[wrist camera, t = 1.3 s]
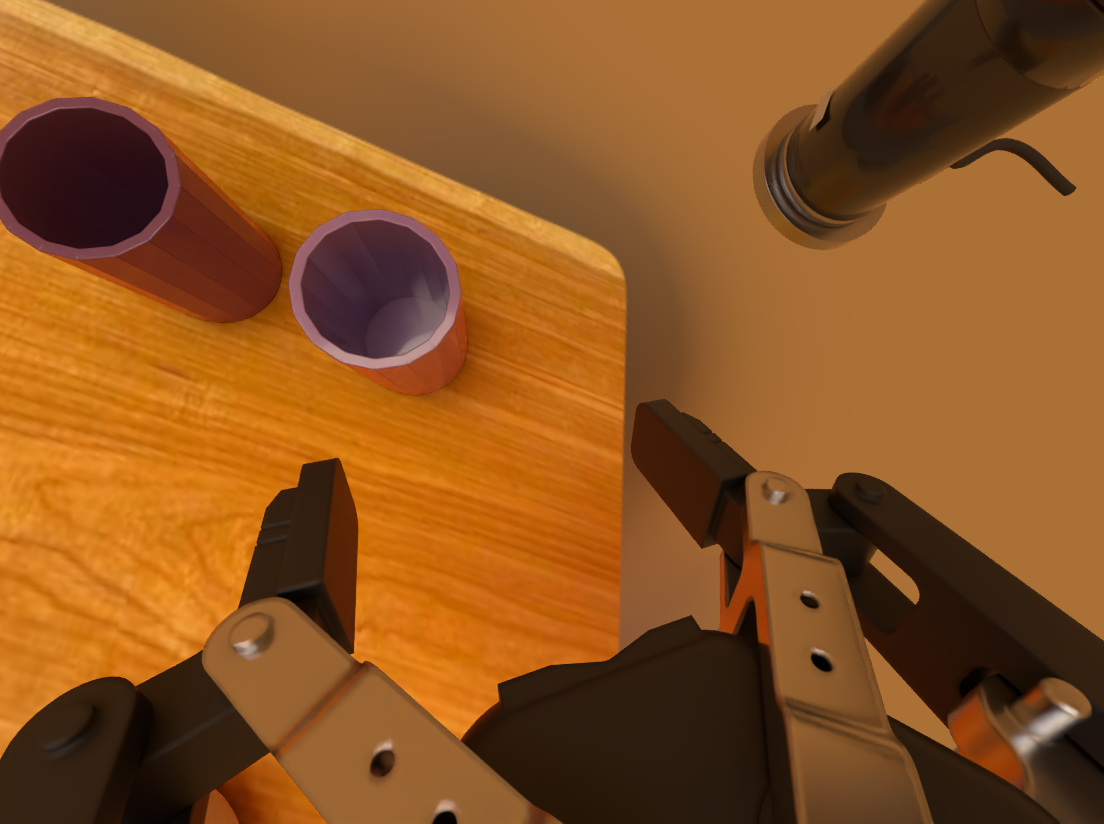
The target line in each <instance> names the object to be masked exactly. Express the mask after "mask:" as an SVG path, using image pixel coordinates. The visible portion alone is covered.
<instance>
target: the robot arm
mask: <svg viewBox="0 0 1104 824" xmlns="http://www.w3.org/2000/svg"><path fill="white" fill-rule="evenodd" d="M1103 75H1104V0H924V1H923V2H922V3H921V4H920V5H919V6H918V7H917V8H916V9H915V10H914V11H913V12H912V13H911V14H910V15H909V16H908V17H907V18H906V19H905V20H904V21H903V22H902V23H901V24H900V25H899V26H898V27H897V28H896V29H895V30H894V31H893V32H892V33H891V34H890V35H889V36H888V37H887V38H886V39H885V40H884V41H883V42H882V43H880V45H878V47H876V48H875V50H873V51H872V52H871V53H870V54H869V55H868V56H867V57H866V58H865V59H864V60H863V61H862V62H861V63H860V64H859V65H858V66H857V67H856V68H855V69H854V70H853V71H852V72H851V73H850V74H849V75H848V76H847V77H846V78H845V79H844V80H843V81H842V82H841V83H840V84H839V85H838V86H837V87H836V88H835V89H834V90H833V88H834V85H833V86H832V87H831V88H830V89H829V90H828V91H827V92H826V93H825V94H824V95H823V96H822V97H821V99H820V102H819V104H818V106H817V107H816V108H815V109H814V110H813V111H812V112H811V113H810V114H809V115H808V116H807V117H805V118H804V119H802V120H801V121H800V122H799V123H798V124H797V125H796V126H795V127H794V128H793V129H792V130H791V131H790V132H789V133H788V135H787V136H786V137H785V139H784V141H783V143H782V146H781V149H780V152H779V159H778V170H779V177H780V181H781V184H782V187H783V189H784V192H785V194H786V195H787V197H788V199H789V200H790V202H791V203H792V204H793V206H794V207H795V208H796V209H797V210H798V211H799V212H800V213H801V214H802V215H804V216H805V217H806V218H808V219H810V220H811V221H813V222H815V223H818V224H820V225H824V226H828V227H843V226H847V225H850V224H853V223H855V222H856V221H858V220H860V219H862V218H863V217H865V216H867V215H868V214H869V213H871V212H872V211H873V210H875V209H876V208H878V207H880V206H881V205H883V204H885V203H887V202H888V201H890V200H892V199H893V198H895V197H897V196H899V195H900V194H902V193H904V192H906V191H907V190H909V189H911V188H912V187H914V186H916V185H918V184H920V183H922V182H924V181H925V180H927V179H929V178H931V177H932V176H934V175H936V174H937V173H939V172H941V171H943V170H944V169H946V168H948V167H951V168H953V169H957V168H962V167H965V166H967V165H969V164H970V163H972V162H974V161H975V160H977V159H979V158H980V157H982V156H983V155H985V154H987V153H989V152H992V151H995V150H1004V151H1008V152H1011V153H1014V154H1016V155H1018V156H1020V157H1021V158H1023V159H1024V160H1025V161H1027V162H1028V163H1029V164H1031V165H1032V166H1033V167H1034V168H1035V169H1036V170H1037V171H1038V172H1039V173H1040V174H1041V175H1042V176H1043V177H1044V178H1045V179H1046V180H1047V181H1048V182H1049V183H1050V184H1051V185H1052V186H1053V187H1054V188H1055V189H1056V190H1057V191H1058V192H1060V193H1061V194H1062V195H1064V196H1066V195H1069V194H1071V193H1072V192H1074V191H1075V189H1076V187H1075V186H1074V185H1073V184H1072V183H1070V182H1069V181H1068V180H1067V179H1066V178H1065V177H1064V176H1063V175H1062V174H1061V173H1060V172H1059V171H1058V170H1057V169H1056V168H1055V167H1054V166H1053V165H1052V164H1051V163H1050V162H1049V161H1048V160H1047V159H1046V158H1045V157H1044V156H1042V155H1041V154H1040V153H1039V152H1038V151H1036V150H1035V149H1034V148H1032V147H1031V146H1029V145H1027V144H1025V143H1023V142H1021V141H1018V140H1014V139H1008V138H1003V139H997V140H994V139H996V138H998V137H999V136H1001V135H1003V134H1004V133H1006V132H1008V131H1010V130H1011V129H1013V128H1015V127H1016V126H1018V125H1020V124H1021V123H1023V122H1025V121H1027V120H1028V119H1030V118H1032V117H1033V116H1035V115H1037V114H1039V113H1040V112H1042V111H1044V110H1045V109H1047V108H1049V107H1050V106H1052V105H1054V104H1056V103H1057V102H1059V101H1061V100H1062V99H1064V98H1066V97H1068V96H1069V95H1071V94H1072V93H1074V92H1076V91H1078V90H1079V89H1081V88H1083V87H1084V86H1086V85H1088V84H1090V83H1091V82H1092V81H1094V80H1096V79H1098V78H1099V77H1101V76H1103ZM631 453H632V458H633V461H634V463H635V465H636V466H637V468H638V469H639V470H640V472H641V473H642V474H643V475H644V477H645V478H646V479H647V480H648V482H649V483H650V484H651V485H652V487H653V488H654V489H655V490H656V492H657V493H658V494H659V496H660V497H661V498H662V499H663V501H664V502H665V503H666V504H667V506H668V507H669V508H670V509H671V511H672V512H673V513H674V514H675V516H676V517H677V518H678V519H679V521H680V522H681V523H682V525H683V526H684V527H685V528H686V530H687V531H688V532H689V533H690V535H691V536H692V537H693V539H694V540H695V541H696V542H697V544H698V545H699V546H700V547H701V549H702V548H705V547H708V546H711V545H715V544H719V545H720V546H721V547H722V552H721V555H720V624H719V630H718V631H715V630H701V629H700V627H699V626H698V624H697V623H696V621H695V620H694V618H693V617H692V615H690V616H688V617H685V618H682V619H680V620H677V621H674V622H671V623H668V624H665V625H662V626H660V627H657V628H654V629H651V630H649V631H647V632H646V633H644V634H643V635H642V636H640V637H639V638H638V639H636V640H635V641H634V642H632V643H631V644H630V645H629V646H627V647H626V648H624V649H623V650H622V651H620V652H619V653H618V654H616V655H615V656H614V657H612V658H611V659H609V660H607V661H602V662H589V663H575V664H561V665H550V666H547V667H544V668H541V669H538V670H536V671H533V672H530V673H527V674H524V675H522V676H519V677H516V678H513V679H510V680H508V681H505V682H502V683H499V684H498V693H499V702H498V703H496V704H495V705H494V706H492V707H491V708H489V709H488V710H487V711H486V712H485V713H484V714H483V715H482V716H481V717H480V718H478V719H477V720H476V722H475V723H474V724H473V725H472V726H471V727H470V729H469V730H468V731H467V732H466V733H465V735H464V736H463V737H462V739H461V740H459V739H458V738H457V737H456V736H454V735H453V734H452V733H451V732H450V731H449V730H448V729H447V728H446V727H444V726H443V725H442V724H441V723H440V722H439V721H438V720H437V719H435V718H434V717H433V716H432V715H431V714H430V713H429V712H428V711H426V710H425V709H424V708H423V707H422V706H421V705H420V704H419V703H417V702H416V701H415V700H414V699H413V698H412V697H411V696H410V695H408V694H407V693H406V692H405V691H404V690H403V689H402V688H401V687H399V686H398V685H397V684H396V683H395V682H394V681H393V680H392V679H390V678H389V677H388V676H387V675H386V674H385V673H384V672H383V671H381V670H380V669H379V668H378V667H377V666H375V665H374V664H372V663H371V662H368V661H365V662H364V663H363V664H361V663H359V662H358V661H357V660H355V659H354V658H353V657H352V656H351V655H350V654H353V653H354V636H355V607H356V578H357V549H358V519H357V513H356V508H355V504H354V501H353V498H352V495H351V492H350V488H349V485H348V482H347V479H346V476H345V473H344V470H343V467H342V464H341V461H340V460H339V458H335V459H329V460H324V461H318V462H313V463H307V464H303V466H302V469H301V474H300V479H299V483H298V487H296V488H291V489H286V490H281V491H280V492H279V493H278V495H277V496H276V497H275V498H274V500H273V501H272V502H271V503H270V504H269V506H268V507H267V508H266V511H265V514H264V518H263V521H262V525H261V531H260V532H259V536H258V539H257V546H255V550H254V553H253V557H252V561H251V564H250V568H249V571H248V575H247V578H246V582H245V585H244V589H243V593H242V596H241V600H240V603H239V606H238V609H237V610H236V611H234V612H233V613H231V614H230V615H229V616H228V617H226V618H225V619H224V620H223V621H222V622H221V623H220V624H219V625H218V626H217V627H216V628H215V629H214V631H213V632H212V633H211V635H210V636H209V638H208V639H207V642H206V644H205V646H204V649H203V650H201V651H200V652H198V653H197V654H196V655H194V656H192V657H190V658H189V659H187V660H185V661H183V662H181V663H179V664H177V665H176V666H174V667H172V668H170V669H168V670H166V671H164V672H162V673H160V674H158V675H156V676H155V677H153V678H151V679H149V680H147V681H145V682H143V683H141V684H139V685H137V686H134V685H133V684H132V683H131V682H130V681H128V680H127V679H125V678H121V677H104V678H100V679H96V680H92V681H89V682H87V683H84V684H82V685H80V686H78V687H75V688H73V689H71V690H70V691H68V692H66V693H64V694H63V695H61V696H59V697H58V698H56V699H55V700H54V701H52V702H51V703H49V704H48V705H47V706H45V707H44V708H43V709H42V710H40V711H39V712H38V713H37V714H36V715H35V716H33V717H32V718H31V719H30V720H29V721H28V722H27V723H26V724H25V725H24V726H23V727H22V729H21V730H20V731H19V732H18V733H17V734H16V736H15V737H14V738H13V740H12V741H11V742H10V744H9V745H8V747H7V749H6V750H5V752H4V754H3V756H2V757H1V759H0V824H204V823H205V818H206V812H207V807H208V802H209V797H210V792H212V791H213V790H214V789H216V788H217V787H219V786H220V785H222V784H223V783H225V782H226V781H228V780H229V779H231V778H232V777H234V776H235V775H237V774H238V773H240V772H241V771H243V770H244V769H246V768H247V767H249V766H250V765H252V764H253V763H255V762H256V761H258V760H259V759H260V758H262V757H263V756H265V755H266V754H268V753H269V752H271V753H272V754H273V756H274V757H275V758H276V760H277V761H278V762H279V763H280V765H281V766H282V767H283V768H284V770H285V771H286V772H287V773H288V775H289V776H290V777H291V778H292V780H293V781H294V782H295V783H296V785H297V786H298V787H299V788H300V790H301V791H302V792H303V793H304V795H305V796H306V797H307V798H308V799H309V801H310V802H311V803H312V804H313V806H314V807H315V808H316V809H317V811H318V812H319V813H320V814H321V816H322V817H323V818H324V819H325V821H326V822H327V823H328V824H1104V641H1103V640H1102V639H1100V638H1099V637H1097V636H1096V635H1095V634H1093V633H1092V632H1091V631H1089V630H1088V629H1087V628H1085V627H1084V626H1082V625H1081V624H1080V623H1078V622H1077V621H1076V620H1074V619H1073V618H1071V617H1070V616H1069V615H1067V614H1066V613H1065V612H1063V611H1062V610H1061V609H1059V608H1058V607H1056V606H1055V605H1054V604H1052V603H1051V602H1049V601H1048V600H1047V599H1045V598H1044V597H1043V596H1041V595H1040V594H1038V593H1037V592H1036V591H1034V590H1033V589H1032V588H1030V587H1029V586H1027V585H1026V584H1025V583H1023V582H1022V581H1021V580H1019V579H1018V578H1017V577H1015V576H1014V575H1012V574H1011V573H1010V572H1008V571H1007V570H1006V569H1004V568H1003V567H1001V566H1000V565H999V564H997V563H995V562H994V561H993V560H992V559H990V558H989V557H988V556H986V555H985V554H984V553H982V552H981V551H979V550H978V549H977V548H975V547H974V546H973V545H971V544H970V543H969V542H967V541H966V540H964V539H963V538H962V537H960V536H959V535H958V534H956V533H955V532H953V531H952V530H950V529H949V528H948V527H947V526H945V525H944V524H942V523H941V522H939V521H938V520H937V519H935V518H934V517H933V516H931V515H930V514H929V513H927V512H926V511H925V510H923V509H922V508H920V507H919V506H918V505H916V504H915V503H914V502H912V501H911V500H909V499H908V498H907V497H905V496H904V495H903V494H901V493H900V492H898V491H897V490H896V489H894V488H893V487H892V486H890V485H889V484H887V483H885V482H883V481H882V480H880V479H877V478H875V477H872V476H869V475H865V474H861V473H844V474H841V475H839V476H838V477H837V479H836V481H835V483H834V485H833V487H832V489H804V488H803V487H802V486H801V485H800V484H799V483H797V482H796V481H795V480H793V479H791V478H789V477H787V476H785V475H782V474H780V473H776V472H771V471H757V470H756V469H754V468H753V467H752V466H751V465H750V464H749V463H748V462H747V461H745V460H744V459H743V458H742V457H741V456H740V455H739V454H737V453H736V452H735V451H734V450H733V449H732V448H731V447H729V446H728V445H727V444H726V443H725V442H722V440H721V439H720V438H719V437H718V436H717V435H716V434H715V433H712V431H711V430H710V429H709V428H708V427H707V426H706V425H704V424H703V423H702V422H701V421H700V420H698V419H696V418H694V417H692V416H690V415H687V414H686V413H684V412H683V413H681V412H679V411H678V410H677V409H676V408H675V407H674V406H673V405H671V403H670V402H668V401H667V400H665V399H661V400H656V401H650V402H645V403H640V404H639V405H638V406H637V409H636V414H635V421H634V428H633V435H632V443H631ZM877 549H879V550H880V551H881V552H882V553H884V554H885V555H886V556H887V557H888V558H889V559H890V560H892V561H893V562H894V563H895V564H896V565H897V566H898V567H900V568H901V569H902V570H903V571H904V572H905V573H906V574H908V575H909V576H910V577H911V578H912V580H913V581H914V582H915V583H916V585H917V587H918V590H919V593H920V598H919V601H918V602H917V604H916V605H915V604H914V603H913V602H912V601H910V600H909V598H907V597H906V596H905V595H904V594H903V593H902V592H901V591H900V590H899V589H898V588H897V587H895V586H894V585H893V584H892V583H891V582H890V581H889V580H888V579H887V578H886V577H885V576H884V575H883V574H882V573H880V572H879V571H878V570H877V569H876V568H875V567H874V566H873V565H872V564H871V563H870V562H869V561H870V560H871V558H872V557H873V555H874V553H875V552H876V550H877ZM864 637H865V638H866V639H867V640H868V641H869V642H870V643H871V644H872V645H873V647H875V649H876V650H877V651H878V652H879V653H880V654H881V655H882V656H883V657H884V659H885V660H886V661H887V662H888V663H889V664H890V665H891V666H892V667H893V669H894V670H895V671H896V672H897V673H898V674H899V675H900V676H901V677H902V678H903V680H904V681H905V682H906V683H907V684H908V685H909V686H910V687H911V688H912V689H913V691H914V692H915V693H916V694H917V695H918V696H919V697H920V698H921V699H922V700H923V702H924V703H925V704H926V705H927V706H928V707H929V708H930V709H931V710H932V711H933V713H934V714H935V715H936V716H937V717H938V718H939V719H940V720H941V721H942V722H943V724H944V725H945V726H946V727H947V728H948V729H949V731H950V734H951V736H952V738H953V740H954V742H955V743H956V745H957V747H956V748H955V749H954V750H951V749H949V748H947V747H945V746H944V745H942V744H940V743H938V742H936V741H934V740H932V739H931V738H929V737H927V736H925V735H923V734H922V733H920V732H918V731H916V730H914V729H913V728H911V727H909V726H907V725H905V724H903V723H901V722H900V721H898V720H896V719H894V718H892V717H890V716H889V715H887V714H886V711H885V708H884V704H883V701H882V697H881V694H880V691H879V687H878V684H877V681H876V677H875V674H874V670H873V667H872V663H871V660H870V657H869V653H868V650H867V646H866V643H865V640H864Z"/></svg>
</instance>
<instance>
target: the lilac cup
mask: <svg viewBox="0 0 1104 824" xmlns="http://www.w3.org/2000/svg"><path fill="white" fill-rule="evenodd" d="M288 282H289V283H288V285H289V291H290V297H291V303H292V309H293V314H294V317H295V318H296V320H297V321H298V323H299V324H300V326H301V327H302V329H303V330H304V332H305V333H306V335H307V336H308V338H309V340H310V341H311V342H312V343H313V344H314V345H315V346H317V347H318V348H320V349H321V350H323V351H324V352H326V353H327V354H329V355H330V356H331V357H333V358H334V359H336V360H337V361H339V362H341V363H342V364H344V365H346V366H348V367H349V368H351V369H353V370H355V371H357V372H358V373H360V374H362V375H364V376H365V377H367V378H369V379H371V380H373V381H374V382H376V383H378V384H380V385H381V386H383V387H385V388H387V389H389V390H391V391H395V392H398V393H401V394H407V395H422V394H427V393H431V392H434V391H437V390H439V389H441V388H442V387H444V386H445V385H447V384H448V383H449V382H451V381H452V380H453V379H454V378H455V376H456V375H457V374H458V373H459V371H460V369H461V368H462V365H463V363H464V361H465V357H466V352H467V346H468V341H467V333H466V325H465V317H464V309H463V301H462V293H461V287H460V282H459V276H458V271H457V265H456V263H455V261H454V259H453V258H452V256H451V255H450V253H449V252H448V250H447V249H446V247H445V245H444V244H443V242H442V241H441V239H440V238H439V237H438V236H437V235H436V234H434V233H433V232H431V231H430V230H429V229H427V228H426V227H425V226H423V225H422V224H420V223H419V222H418V221H416V220H415V219H413V218H411V217H408V216H404V215H401V214H397V213H394V212H390V211H386V210H383V209H381V210H380V209H374V210H363V211H351V212H348V213H347V212H346V213H344V214H342V215H340V216H338V217H336V218H334V219H332V220H330V221H328V222H326V223H324V224H322V225H320V226H318V227H317V228H316V229H315V230H314V232H313V233H312V234H311V235H310V236H309V237H308V239H307V240H306V241H305V242H304V243H303V245H302V246H301V247H300V248H299V249H298V251H297V253H296V256H295V259H294V263H293V267H292V270H291V274H290V277H289V281H288Z"/></svg>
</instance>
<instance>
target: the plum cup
mask: <svg viewBox="0 0 1104 824" xmlns="http://www.w3.org/2000/svg"><path fill="white" fill-rule="evenodd" d="M0 220H1V221H2V223H3V224H4V225H5V227H6V228H7V230H9V232H11V233H12V234H14V235H15V236H17V237H18V238H20V239H22V240H23V241H25V242H26V243H28V244H29V245H31V246H32V247H34V248H35V249H37V250H38V251H40V252H43V253H45V254H47V255H50V256H52V257H54V258H57V259H59V260H61V261H64V262H66V263H68V264H70V265H73V266H75V267H77V268H80V269H82V270H84V271H87V272H89V273H91V274H94V275H96V276H98V277H101V278H103V279H105V280H108V281H110V282H112V283H115V284H117V285H119V286H122V287H124V288H126V289H129V290H131V291H133V292H135V293H138V294H140V295H142V296H145V297H147V298H149V299H152V300H154V301H156V302H159V303H161V304H163V305H166V306H168V307H170V308H173V309H175V310H177V311H180V312H182V313H184V314H187V315H189V316H193V317H196V318H198V319H202V320H205V321H210V322H219V323H226V322H234V321H239V320H242V319H246V318H248V317H250V316H252V315H254V314H256V313H258V312H259V311H261V310H262V309H263V308H264V307H266V305H267V304H268V303H269V302H270V301H271V300H272V298H273V297H274V296H275V294H276V292H277V290H278V287H279V285H280V281H281V273H282V267H281V260H280V256H279V254H278V251H277V249H276V247H275V245H274V244H273V242H272V241H271V239H270V238H269V237H268V236H267V235H266V234H265V232H264V231H263V230H262V229H261V228H260V227H259V226H258V225H257V224H256V223H255V222H254V221H253V220H252V219H251V218H250V217H249V216H248V215H247V214H246V213H245V212H244V211H243V210H242V209H241V208H240V207H239V206H238V205H237V204H236V203H235V202H234V201H233V200H231V199H230V198H229V197H228V196H227V195H226V194H225V193H224V192H223V191H222V190H221V189H220V188H219V187H218V186H217V185H216V184H215V183H214V182H213V181H212V180H211V179H210V178H209V177H208V176H207V175H206V174H205V173H204V172H203V171H202V170H201V169H200V168H199V167H198V166H197V165H195V164H194V163H193V162H192V161H191V160H190V159H189V158H188V157H187V156H186V155H185V154H184V153H183V152H182V151H181V150H180V149H179V148H178V147H177V146H176V145H175V144H174V143H173V142H172V141H171V140H170V139H169V138H168V137H167V136H166V135H165V134H164V133H163V132H162V131H161V130H159V129H158V128H157V127H156V126H155V125H153V124H152V123H150V122H149V121H147V120H146V119H145V118H143V117H142V116H140V115H139V114H137V113H136V112H135V111H133V110H132V109H130V108H128V107H125V106H122V105H118V104H115V103H111V102H108V101H104V100H101V99H97V98H94V97H93V98H92V97H79V98H55V99H51V100H49V101H46V102H44V103H41V104H39V105H36V106H34V107H31V108H29V109H26V110H24V111H21V112H20V113H18V114H17V115H16V116H15V117H14V118H13V119H12V120H11V121H10V122H9V123H8V124H7V125H6V126H5V127H4V128H3V129H2V130H1V131H0Z"/></svg>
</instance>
